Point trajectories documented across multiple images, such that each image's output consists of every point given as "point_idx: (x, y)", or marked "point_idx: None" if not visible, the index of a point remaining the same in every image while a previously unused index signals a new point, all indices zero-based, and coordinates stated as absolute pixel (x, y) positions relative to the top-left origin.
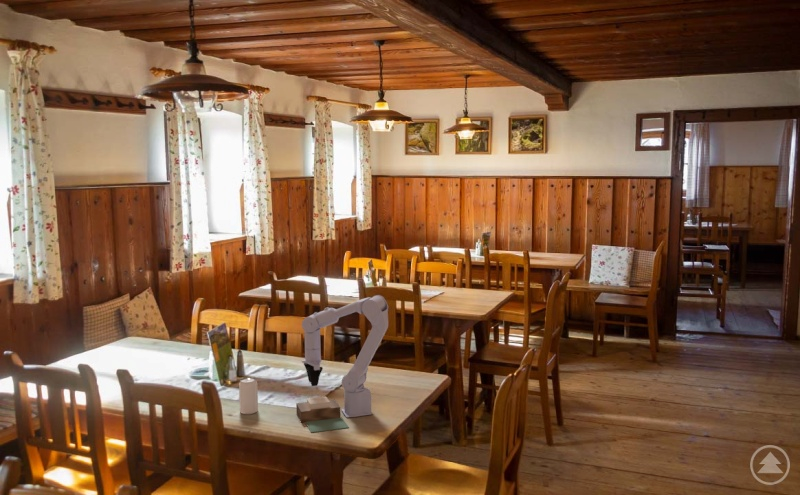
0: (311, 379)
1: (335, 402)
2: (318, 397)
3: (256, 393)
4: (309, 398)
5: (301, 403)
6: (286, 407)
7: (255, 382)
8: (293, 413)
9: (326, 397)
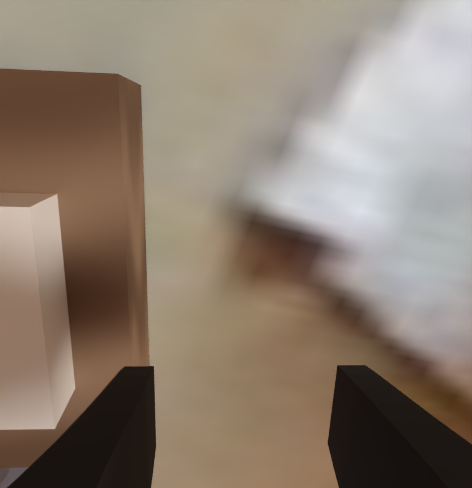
0: (43, 463)
1: (30, 457)
2: (36, 348)
3: None
4: (26, 239)
5: (90, 134)
6: (350, 28)
7: None
8: (165, 59)
9: (14, 426)
